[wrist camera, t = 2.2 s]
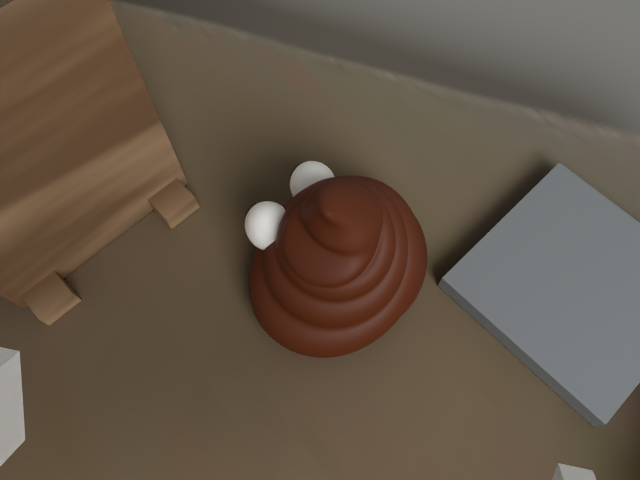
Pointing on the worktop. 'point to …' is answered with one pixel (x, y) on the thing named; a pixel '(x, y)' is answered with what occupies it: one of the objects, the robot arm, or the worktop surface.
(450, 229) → the worktop surface
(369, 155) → the worktop surface
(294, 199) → the poop emoji
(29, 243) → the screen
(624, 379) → the board
